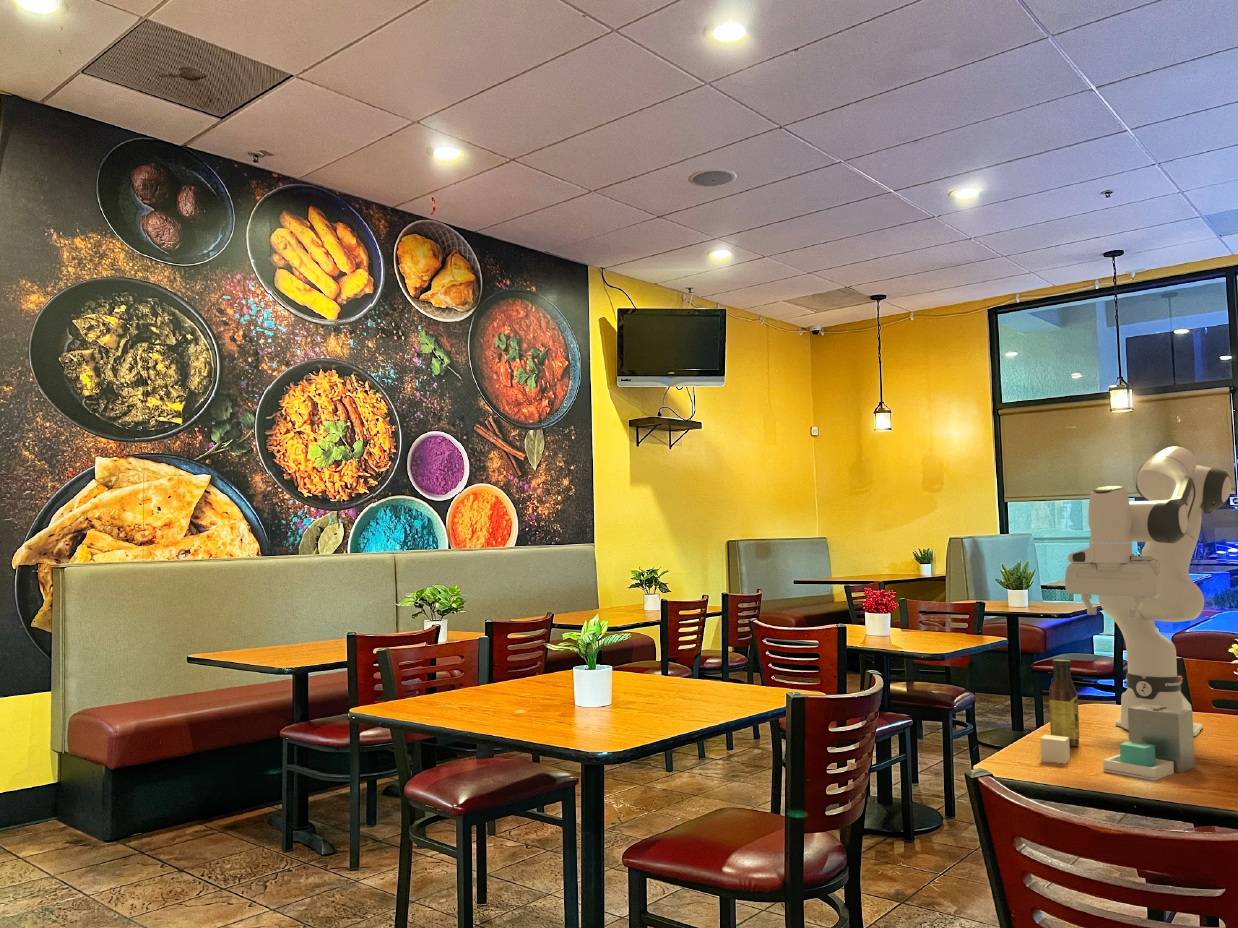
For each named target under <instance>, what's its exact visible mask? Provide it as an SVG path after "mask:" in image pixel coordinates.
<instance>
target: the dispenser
mask: <svg viewBox="0 0 1238 928" xmlns="http://www.w3.org/2000/svg"><path fill="white" fill-rule="evenodd" d="M1193 719H1194V718H1193V709H1192V710H1186V709H1178V708H1170V707H1162V706H1154V705H1146V704H1141V705H1137V706H1133V707H1130V708H1128V724H1129V730H1128V741H1132V742H1139V743H1145V744H1151V745H1155V759H1161V760H1167V761H1173V766H1174V773H1179V774H1182V773H1185V772H1187V771H1189V770H1192V769H1193V768H1195V767H1196V766H1195V765H1196V764H1195V745H1194V743H1195V742H1194V741H1195V740H1194V736H1193V722H1194V720H1193Z"/></svg>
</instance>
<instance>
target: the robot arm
mask: <svg viewBox="0 0 1238 928" xmlns="http://www.w3.org/2000/svg"><path fill="white" fill-rule="evenodd" d="M1135 488H1136V491H1137V493H1138V494H1139V495H1140V496H1141V497H1142V498H1145V499H1147V500H1135V501H1133V500H1130V499H1129V493H1128V491H1127V489H1128V488H1126V487H1125V486H1121V485H1107V486H1100V487H1096V488H1093V489H1092V490H1091V491H1090V494H1089V501H1088V515H1087V516H1088V517H1087V518H1088V526H1089V527H1088V528H1089V530H1090V537H1089V541H1088V542H1089V543H1088V544H1089V545H1088V546H1089V547H1088V548H1085V549H1081V550H1079V551H1078V550H1077V551H1074V552H1071V553H1068V556H1067V560H1068V562H1069V563H1070V564H1068V565H1067V567H1066V569H1065V578H1064V586H1065V591H1066V592H1067V593H1068V594H1069V595H1081V601H1082V602H1083V604H1084V605H1085V607H1086V612H1087V615H1094V616H1095V615H1097V606H1093V604H1092V602H1091V600H1092V596H1098V597H1097V598H1098V602H1099V605H1100V607H1101V609H1102V610H1103V611H1104V613H1106V614H1107V615H1108V616H1110V617H1111V618H1112V620H1114V622H1115V623H1116V625H1117V627H1118V628H1119V630H1120V631H1121V635H1122V636H1123V639H1124V644H1125V649H1126V650H1125V651H1126V659H1127V660H1126V661H1127V672H1126V673H1125V676H1126V677H1125V683H1126V687H1127V689H1126V691H1124V692H1122V694H1121V700H1120V703H1121V704H1120V719H1119V720H1115V722H1114V723H1115V725H1114V726H1118V727H1121V728H1123V729H1124V730H1127V731H1129V724H1128V708H1130V707H1133V706H1137V705H1141V704H1146V705H1154V706H1162V707H1170V708H1178V709H1186V710H1192V711H1193V709H1192V704H1191V703H1190V702H1189V701H1188V699H1187V698H1186V697H1185V695H1184V694H1183V693H1182V691H1181V690H1182V687H1181V686H1182V684H1183V676H1182V675H1178V670H1177V669H1178V667H1177V665H1178V663H1177V648H1176V646H1175V644H1174V643H1173V641H1171V640H1170V639H1169V638H1168V637H1167V636H1164V635H1163V634H1162V633H1161V632H1160V631H1159V630H1158V629H1157V626H1156V625H1155V621H1157V622H1167V623H1169V622H1171V623H1178V622H1179V623H1180V622H1186V621H1187V622H1188V621H1193V620H1196V619H1197V618H1198V617H1199V616H1200V615H1201V614H1202V613H1203V610H1204V606H1205V598H1204V594H1203V591H1202V590H1201V589H1200V587H1199V586H1198V585H1197V584H1196V583H1195V582H1194V581H1193V580H1192V579H1191V577H1190V571H1189V570H1190V566H1191V560H1192V558H1193V555H1194V551H1195V549H1196V546H1197V543H1198V540H1199V537H1200V533H1201V527H1202V512H1203V514H1204V515H1205V516H1206V515H1210V514H1211V513H1212V512H1213V511H1216V510H1218V509H1219V508H1221V507H1222V506H1223V505H1224V504H1226V502H1227V500H1228V499H1229V497H1230V495H1231V492H1232V482H1231V477H1230V475H1229V473H1228V471H1225V470H1223V469H1220V468H1217V467H1209V466H1203V465H1199V464H1197V459H1196V457H1195V455H1194V454H1193V453H1192V452H1191V451H1190V450H1188V449H1187V448H1185V447H1182V446H1175V445H1174V446H1168V447H1165V448H1164V449H1162V450H1160V451H1158V452H1156V453H1155V454H1153V455H1152V456H1151V457H1150V458H1149V459H1148V460H1147V461H1146V462H1145V463H1143V464H1142V465H1141V466H1140V467H1139V468H1138V471H1137V474H1136V477H1135ZM1133 542H1134V543H1140V542H1141V543H1145V544H1144V546H1143V548H1142V551H1141V556H1140V555H1133ZM1202 728H1204V727H1203V724H1202V723H1198V722H1195V721H1193V737H1197V735H1199V733H1200V732H1201V731H1202V730H1203V729H1202ZM1201 729H1202V730H1201ZM1200 730H1201V731H1200Z"/></svg>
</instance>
